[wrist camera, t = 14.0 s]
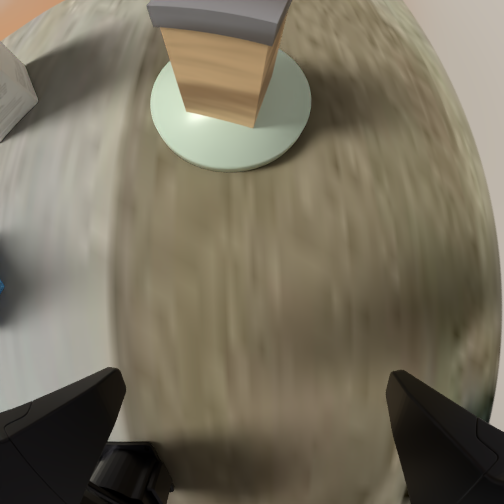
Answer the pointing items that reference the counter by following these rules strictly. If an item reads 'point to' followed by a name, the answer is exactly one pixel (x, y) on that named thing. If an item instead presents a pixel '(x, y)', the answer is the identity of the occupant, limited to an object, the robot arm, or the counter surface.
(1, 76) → the skincare box
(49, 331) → the counter surface
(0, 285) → the perfume bottle
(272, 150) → the sage green coaster
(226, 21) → the grey cushioned footstool
